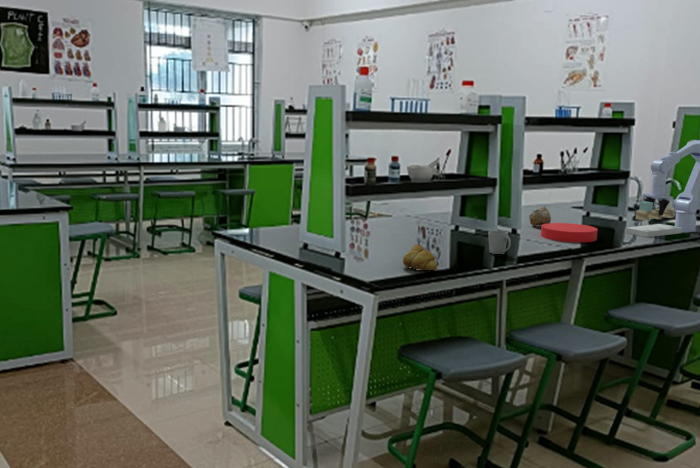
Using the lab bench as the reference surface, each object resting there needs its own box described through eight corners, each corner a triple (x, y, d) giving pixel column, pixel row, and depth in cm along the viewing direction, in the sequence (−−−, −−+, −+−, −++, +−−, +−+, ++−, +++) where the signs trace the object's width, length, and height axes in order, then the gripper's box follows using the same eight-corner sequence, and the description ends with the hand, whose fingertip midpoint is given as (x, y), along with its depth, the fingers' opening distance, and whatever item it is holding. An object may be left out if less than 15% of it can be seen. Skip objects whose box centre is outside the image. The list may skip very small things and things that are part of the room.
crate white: (664, 208, 319) (664, 200, 318) (671, 209, 316) (672, 201, 315) (658, 208, 317) (659, 200, 316) (666, 209, 314) (667, 201, 313)
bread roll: (443, 271, 230) (444, 248, 228) (422, 274, 224) (423, 251, 223) (417, 264, 240) (418, 242, 238) (397, 267, 234) (398, 245, 233)
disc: (609, 230, 294) (569, 233, 282) (608, 240, 294) (569, 244, 283) (568, 221, 314) (530, 224, 303) (567, 231, 315) (529, 235, 304)
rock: (551, 228, 320) (552, 208, 318) (529, 227, 322) (530, 207, 320) (549, 224, 332) (550, 205, 330) (527, 223, 334) (529, 204, 332)
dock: (659, 228, 326) (659, 223, 326) (682, 232, 316) (682, 227, 316) (624, 232, 313) (625, 227, 312) (647, 237, 303) (648, 231, 302)
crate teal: (644, 209, 311) (645, 201, 311) (652, 211, 308) (653, 202, 307) (639, 210, 309) (640, 201, 309) (646, 211, 306) (647, 203, 305)
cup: (496, 250, 266) (497, 229, 264) (515, 255, 258) (517, 233, 256) (483, 252, 261) (484, 231, 260) (502, 257, 253) (504, 235, 252)
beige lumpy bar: (664, 216, 321) (665, 208, 320) (674, 217, 317) (675, 209, 316) (635, 218, 310) (636, 210, 309) (645, 220, 305) (645, 211, 305)
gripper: (639, 184, 315) (636, 212, 317) (667, 187, 302) (664, 217, 305) (648, 183, 318) (646, 211, 321) (676, 187, 306) (673, 216, 308)
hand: (655, 214), depth 313 cm, fingers closed on beige lumpy bar, 5 cm apart
